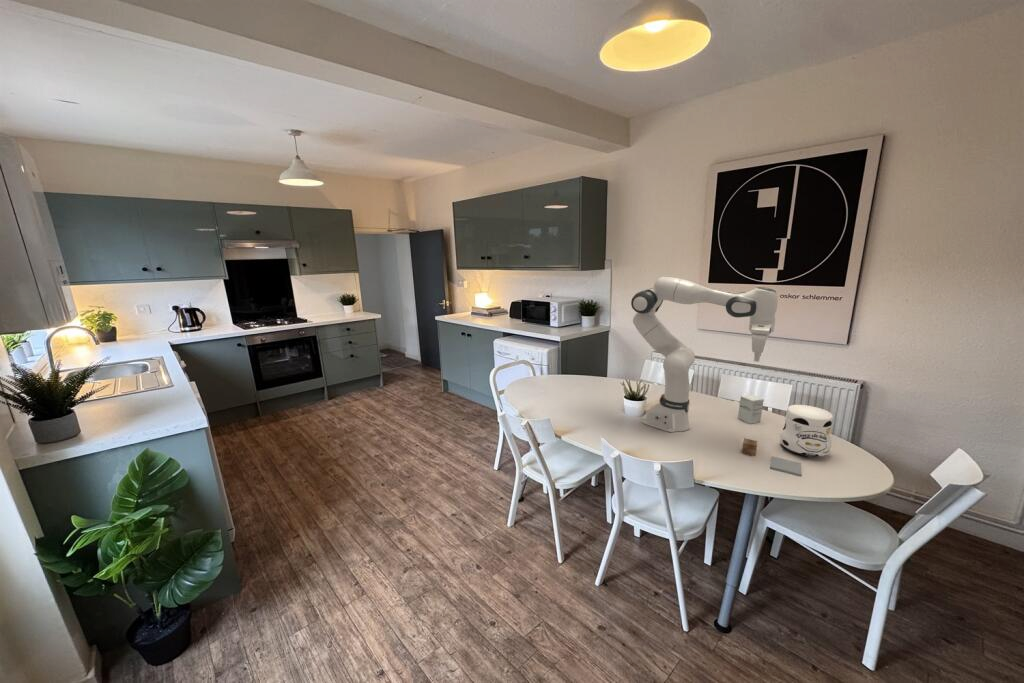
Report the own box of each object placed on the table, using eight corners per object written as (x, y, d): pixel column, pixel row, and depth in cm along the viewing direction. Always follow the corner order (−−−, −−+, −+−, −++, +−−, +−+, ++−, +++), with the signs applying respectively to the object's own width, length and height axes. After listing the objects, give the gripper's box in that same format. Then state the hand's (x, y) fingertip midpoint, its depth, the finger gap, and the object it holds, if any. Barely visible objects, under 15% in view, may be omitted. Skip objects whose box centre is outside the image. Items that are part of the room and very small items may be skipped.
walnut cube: (741, 453, 164) (742, 442, 163) (742, 448, 168) (744, 438, 167) (755, 456, 161) (756, 445, 160) (756, 451, 165) (757, 441, 164)
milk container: (808, 463, 155) (815, 422, 151) (769, 444, 171) (775, 406, 167) (839, 456, 160) (847, 416, 156) (798, 438, 176) (804, 401, 172)
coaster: (769, 468, 152) (770, 466, 152) (771, 457, 160) (771, 455, 160) (801, 476, 146) (801, 474, 146) (800, 464, 154) (801, 463, 154)
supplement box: (737, 418, 198) (740, 395, 195) (748, 416, 200) (751, 393, 197) (749, 424, 191) (752, 400, 188) (761, 422, 193) (764, 398, 190)
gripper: (754, 322, 170) (750, 352, 173) (750, 329, 153) (746, 363, 156) (771, 323, 166) (767, 354, 169) (769, 331, 150) (764, 365, 153)
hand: (757, 358), depth 163 cm, fingers open, 8 cm apart
